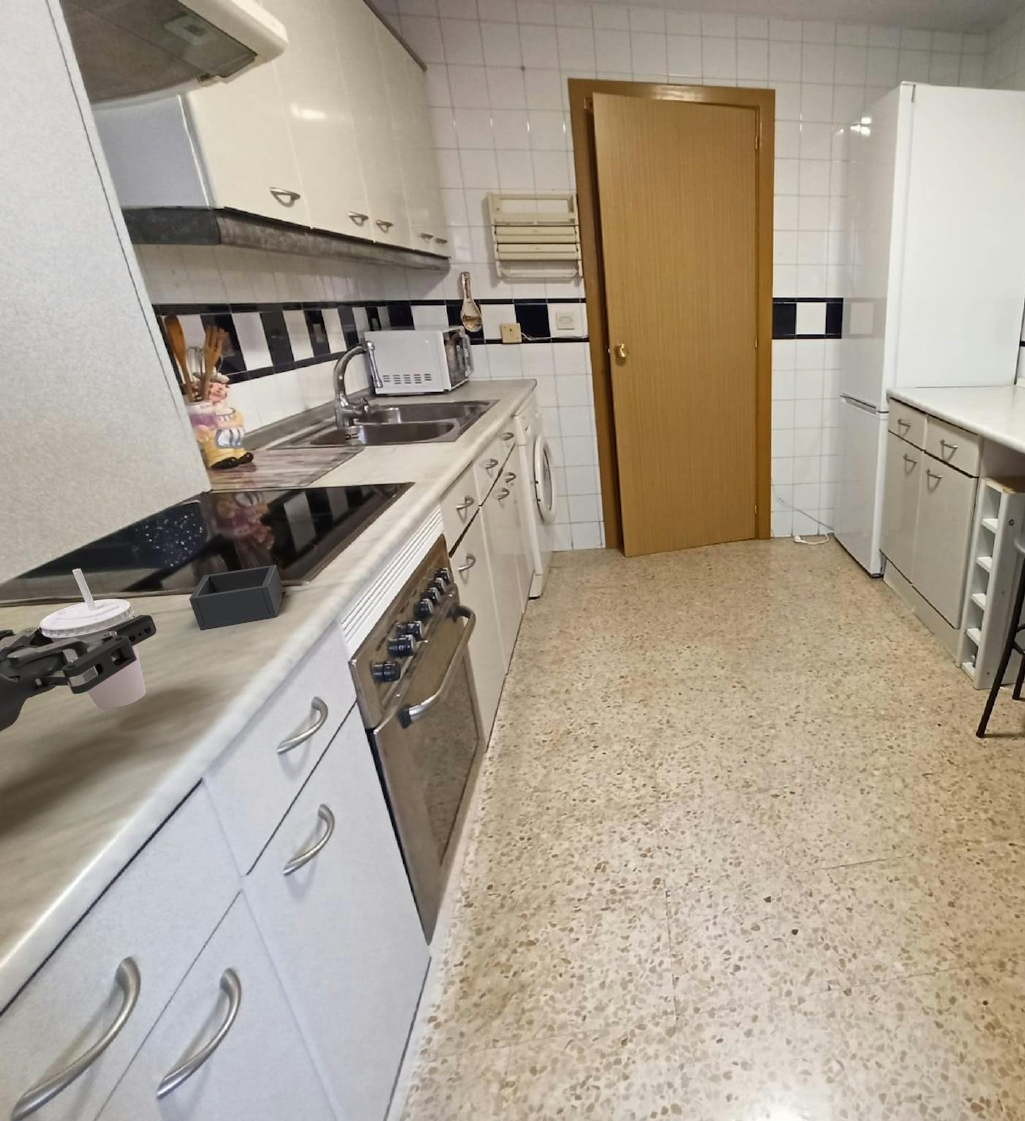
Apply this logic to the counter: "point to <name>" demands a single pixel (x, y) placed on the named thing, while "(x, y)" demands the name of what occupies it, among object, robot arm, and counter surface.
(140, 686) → the smoothie
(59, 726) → the counter surface
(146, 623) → the robot arm
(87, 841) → the counter surface
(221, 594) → the open box
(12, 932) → the counter surface
